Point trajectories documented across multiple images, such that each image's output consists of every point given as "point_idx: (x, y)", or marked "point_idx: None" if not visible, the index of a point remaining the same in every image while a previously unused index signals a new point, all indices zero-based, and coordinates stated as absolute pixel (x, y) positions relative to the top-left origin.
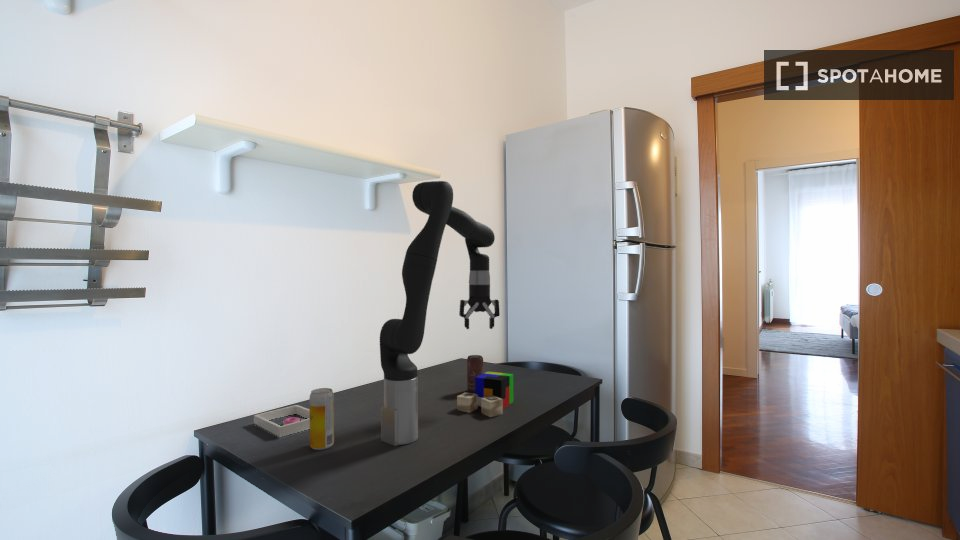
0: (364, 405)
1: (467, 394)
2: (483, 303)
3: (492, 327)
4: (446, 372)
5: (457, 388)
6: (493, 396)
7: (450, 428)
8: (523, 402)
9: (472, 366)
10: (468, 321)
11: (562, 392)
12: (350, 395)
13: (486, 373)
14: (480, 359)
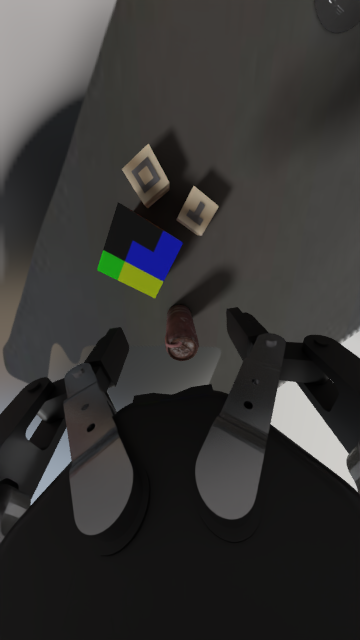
0: (352, 252)
1: (197, 214)
2: (112, 499)
3: (109, 329)
4: None
5: (204, 334)
6: (143, 198)
7: (234, 68)
8: (98, 257)
9: (186, 326)
10: (244, 326)
11: (41, 311)
12: (356, 305)
13: (157, 279)
14: (170, 337)
